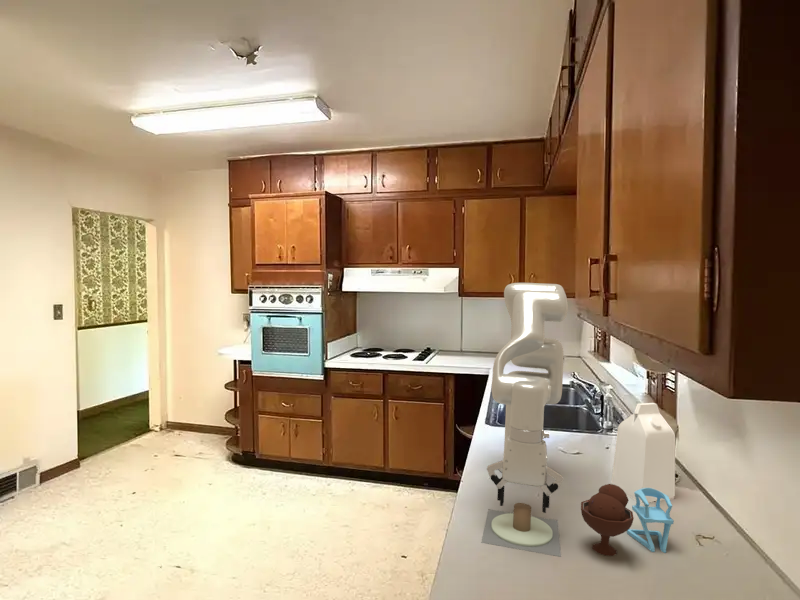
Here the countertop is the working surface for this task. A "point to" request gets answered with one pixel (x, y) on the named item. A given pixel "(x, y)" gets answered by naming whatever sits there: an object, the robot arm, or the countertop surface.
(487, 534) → the mat
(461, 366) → the countertop surface
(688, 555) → the countertop surface
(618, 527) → the ice cream bowl
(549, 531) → the lid
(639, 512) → the chair
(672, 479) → the milk
